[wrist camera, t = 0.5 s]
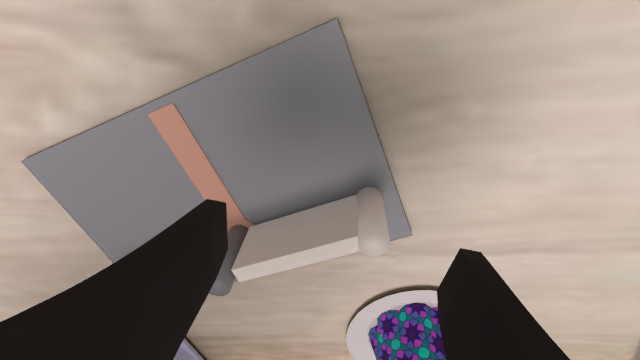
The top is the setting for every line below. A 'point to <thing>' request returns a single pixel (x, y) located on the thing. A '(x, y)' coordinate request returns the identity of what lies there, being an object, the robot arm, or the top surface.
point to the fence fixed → (229, 261)
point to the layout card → (228, 149)
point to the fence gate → (315, 236)
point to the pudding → (398, 329)
